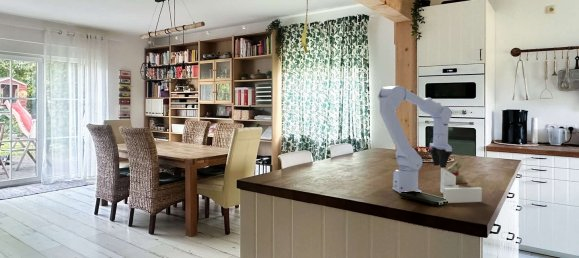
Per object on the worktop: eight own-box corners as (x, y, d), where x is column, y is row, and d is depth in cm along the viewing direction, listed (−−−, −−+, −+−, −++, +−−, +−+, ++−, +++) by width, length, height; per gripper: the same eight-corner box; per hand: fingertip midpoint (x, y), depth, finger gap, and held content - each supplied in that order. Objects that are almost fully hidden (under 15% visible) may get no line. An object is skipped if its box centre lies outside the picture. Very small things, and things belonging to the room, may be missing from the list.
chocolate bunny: (449, 180, 178) (450, 159, 177) (467, 182, 173) (467, 160, 172) (445, 181, 174) (446, 160, 173) (463, 184, 169) (464, 162, 168)
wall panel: (445, 202, 136) (445, 189, 136) (442, 201, 138) (443, 188, 137) (481, 201, 138) (481, 188, 137) (478, 200, 139) (478, 187, 139)
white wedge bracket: (431, 186, 152) (441, 167, 152) (449, 197, 154) (458, 179, 155) (437, 188, 148) (447, 169, 149) (455, 199, 151) (465, 180, 151)
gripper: (459, 135, 152) (458, 169, 152) (440, 133, 166) (439, 163, 167) (442, 135, 151) (441, 169, 152) (425, 133, 165) (424, 163, 166)
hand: (439, 166), depth 159 cm, fingers open, 5 cm apart
